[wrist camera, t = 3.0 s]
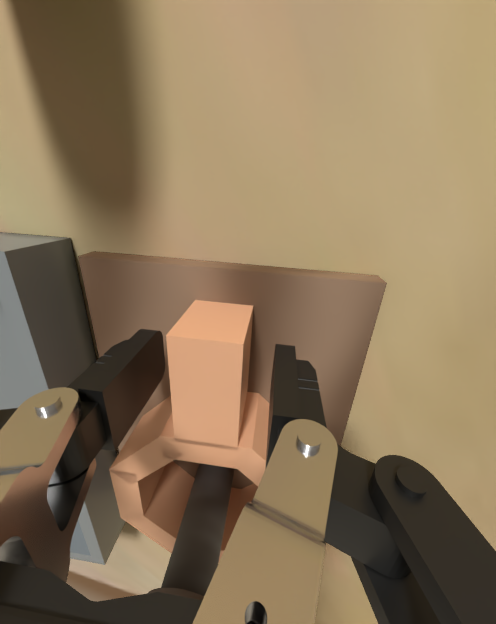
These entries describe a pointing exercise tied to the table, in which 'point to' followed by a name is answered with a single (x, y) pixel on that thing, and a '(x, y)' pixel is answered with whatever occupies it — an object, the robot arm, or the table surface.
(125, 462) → the ring
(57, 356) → the tray
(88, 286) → the panel
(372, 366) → the table surface
